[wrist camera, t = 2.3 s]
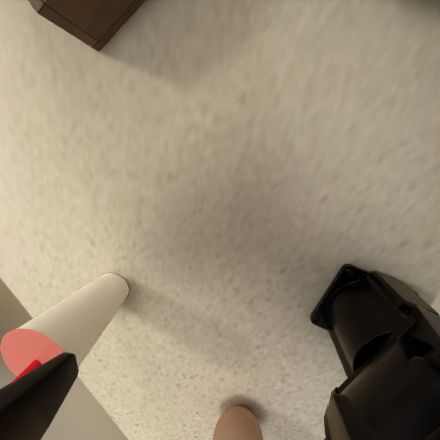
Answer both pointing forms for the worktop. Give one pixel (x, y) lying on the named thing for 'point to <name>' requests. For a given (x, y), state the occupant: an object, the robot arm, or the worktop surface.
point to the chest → (88, 17)
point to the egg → (237, 425)
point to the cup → (65, 326)
